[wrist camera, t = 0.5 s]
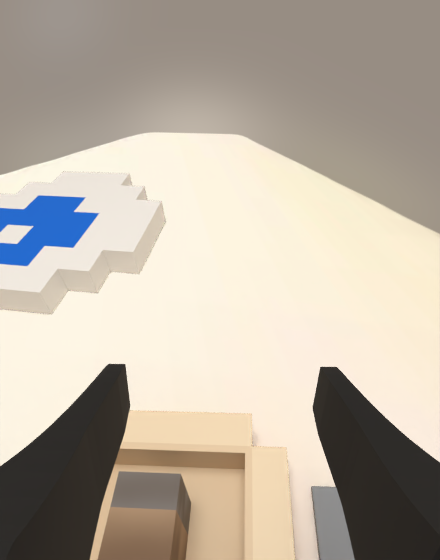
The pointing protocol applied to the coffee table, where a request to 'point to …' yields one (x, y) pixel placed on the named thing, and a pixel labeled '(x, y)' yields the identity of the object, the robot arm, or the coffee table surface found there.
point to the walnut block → (147, 518)
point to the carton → (213, 482)
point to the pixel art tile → (72, 237)
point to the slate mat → (331, 525)
